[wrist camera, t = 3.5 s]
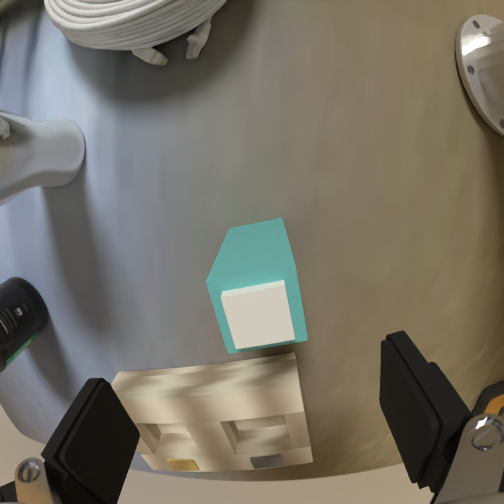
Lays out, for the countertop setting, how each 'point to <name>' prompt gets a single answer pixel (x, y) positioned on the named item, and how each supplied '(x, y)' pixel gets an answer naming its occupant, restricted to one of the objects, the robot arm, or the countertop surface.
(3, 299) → the supplement bottle
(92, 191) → the countertop surface
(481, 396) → the electronic device
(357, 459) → the countertop surface
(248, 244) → the plug
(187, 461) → the socket block
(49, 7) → the cable
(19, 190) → the beer glass
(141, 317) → the countertop surface
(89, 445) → the robot arm
